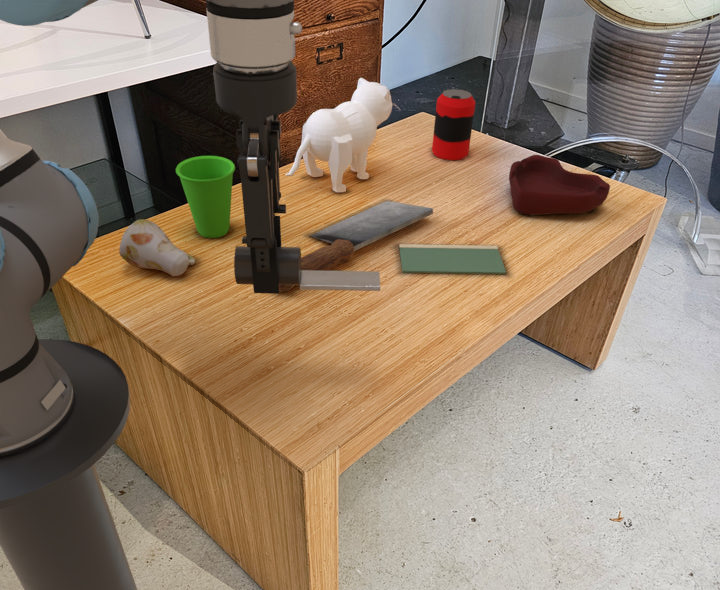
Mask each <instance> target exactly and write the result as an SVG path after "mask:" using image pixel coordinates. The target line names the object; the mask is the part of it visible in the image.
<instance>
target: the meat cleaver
mask: <svg viewBox="0 0 720 590" xmlns="http://www.w3.org/2000/svg"><path fill="white" fill-rule="evenodd" d="M433 214H434V208H432V207H426V206H421V205H416V204H415V205H414V204H409V203H403V202H397V201H391V200H385V201H383V202H381V203H378V204H377V205H374V206H372V207H370V208H368V209H365V210H363V211H361V212H359V213H356V214H354V215H352V216H349V217H347V218H346V219H342V220H340V221H338V222H336V223H334V224H332V225H330V226H327V227H325V228H323V229H321V230H319V231H316V232H314V233H312V234H309V237H310V238H314V239H317V240H320V241H323V242H326V243H329V244H330V245H326V246H322V247H320V248H318V249H316V250H314V251H312V252H310V253H308V254H306V255H303V256H301V270H314V271H331V269H333V268H335V267H337V266H338V265H339V264H344V263H348V262H349V261H350V259H351V258H352V257H353V255H354V253H355V251H357V250H360V249H361V248H364V247H366V246H368V245H370V244H372V243H375V242H376V241H378V240H381V239H383V238H385V237H386V236H389V235H391V234H393V233H395V232H397V231H399V230H401V229H404V228H405V227H408V226H410V225H412V224H414V223H416V222H419V221H420V220H423V219H426V218H427V217H428V216H431V215H433ZM294 286H295V285H279V292H290V291H291V289H293V287H294Z"/></svg>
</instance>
